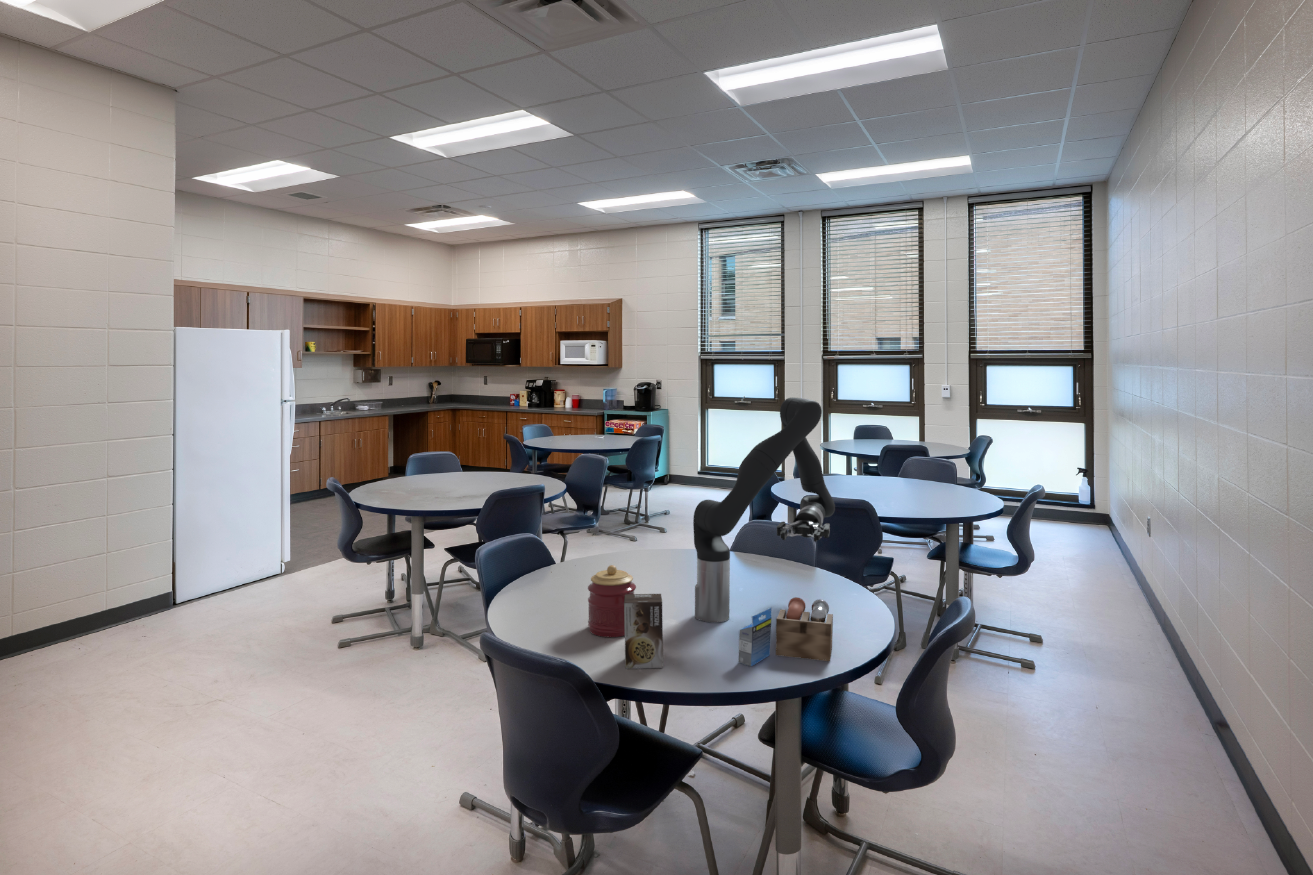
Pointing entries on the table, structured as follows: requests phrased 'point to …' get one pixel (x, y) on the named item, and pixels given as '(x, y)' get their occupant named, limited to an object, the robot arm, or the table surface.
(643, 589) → the table surface
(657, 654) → the coffee box
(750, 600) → the table surface
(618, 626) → the canister
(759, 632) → the label tape box
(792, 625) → the wooden plug holder
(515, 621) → the table surface
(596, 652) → the table surface
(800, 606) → the brick plug
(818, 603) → the steel plug
